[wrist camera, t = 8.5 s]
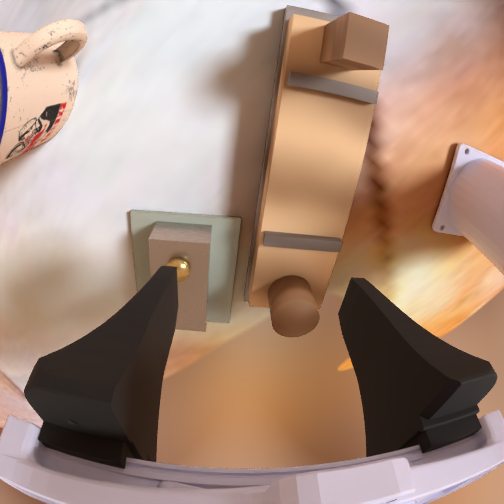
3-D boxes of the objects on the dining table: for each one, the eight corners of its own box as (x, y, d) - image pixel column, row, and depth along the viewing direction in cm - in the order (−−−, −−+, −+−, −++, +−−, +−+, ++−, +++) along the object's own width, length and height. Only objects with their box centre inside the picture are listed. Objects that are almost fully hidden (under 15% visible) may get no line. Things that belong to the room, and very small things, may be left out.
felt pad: (240, 217, 22) (241, 220, 22) (229, 319, 27) (229, 322, 27) (131, 209, 21) (130, 212, 21) (141, 312, 26) (140, 315, 26)
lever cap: (156, 221, 21) (146, 243, 18) (212, 225, 22) (209, 248, 19) (161, 305, 25) (154, 332, 23) (207, 309, 26) (205, 337, 23)
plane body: (285, 8, 14) (308, -23, 9) (373, 30, 15) (425, 18, 9) (243, 294, 26) (247, 355, 20) (312, 298, 26) (330, 355, 21)
